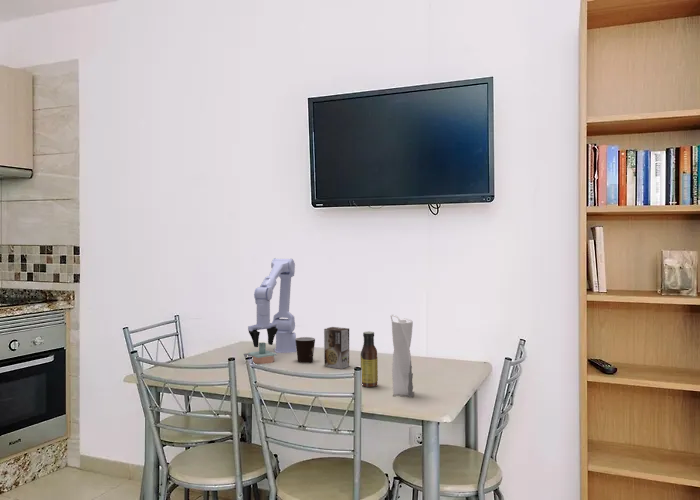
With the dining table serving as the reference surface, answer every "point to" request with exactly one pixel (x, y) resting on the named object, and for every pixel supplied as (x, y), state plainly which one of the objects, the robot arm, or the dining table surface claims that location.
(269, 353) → the lid
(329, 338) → the cookie box
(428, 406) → the dining table surface
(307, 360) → the coffee mug
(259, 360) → the bowl
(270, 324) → the robot arm
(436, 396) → the dining table surface
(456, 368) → the dining table surface
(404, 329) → the skyscraper
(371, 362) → the sauce bottle
